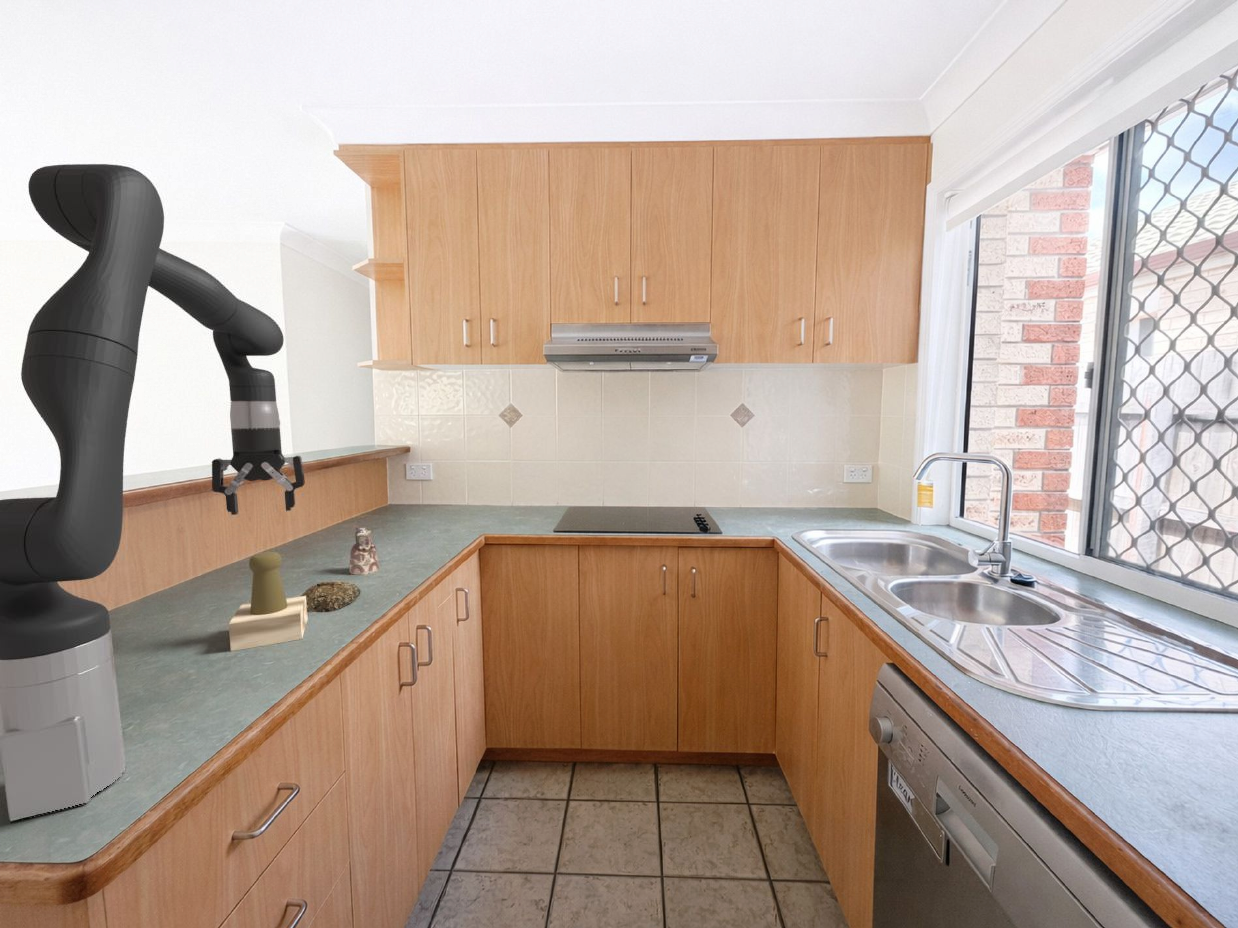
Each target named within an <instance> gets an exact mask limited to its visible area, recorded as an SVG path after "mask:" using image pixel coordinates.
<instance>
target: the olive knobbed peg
mask: <svg viewBox="0 0 1238 928" xmlns="http://www.w3.org/2000/svg"><path fill="white" fill-rule="evenodd" d="M282 561H283V560H282V557H281V554H280V553H279V552H276V551H263V552H258V553H255V554H254V555H252V556H251V557H250V558H249V561H248V562H249V563H248V568H249V569H250V571H251V572H252V573H253V574H252V585H251V599H250V603H251V610H250V613H251V614H253V615H266V614H271V613H275V612H279V611H281V610H284V609H285V608H287V607H288V605H287V601H286V598H287V597H286V594H285V593H286V592H285V589H284V584H283V581H282V575H281V573H280V568H281V565H282Z"/></svg>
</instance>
